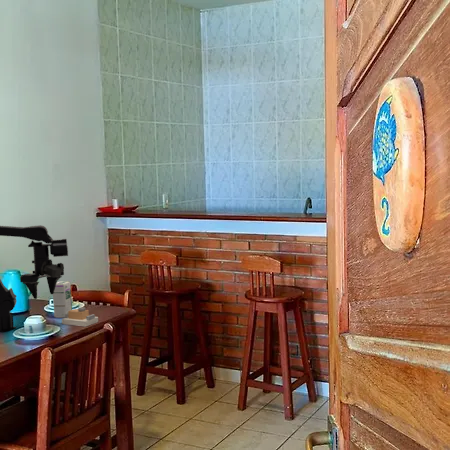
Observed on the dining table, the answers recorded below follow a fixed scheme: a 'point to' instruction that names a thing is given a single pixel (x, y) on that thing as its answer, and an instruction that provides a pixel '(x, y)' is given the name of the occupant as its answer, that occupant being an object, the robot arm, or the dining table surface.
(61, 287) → the syrup box
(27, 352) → the dining table surface
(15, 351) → the dining table surface
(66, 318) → the stand
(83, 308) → the housing
